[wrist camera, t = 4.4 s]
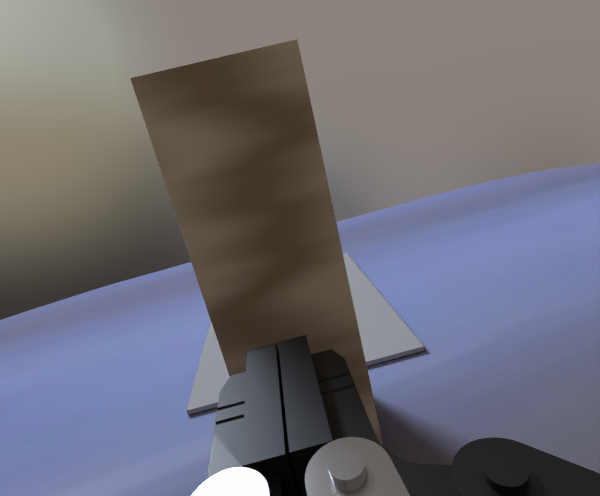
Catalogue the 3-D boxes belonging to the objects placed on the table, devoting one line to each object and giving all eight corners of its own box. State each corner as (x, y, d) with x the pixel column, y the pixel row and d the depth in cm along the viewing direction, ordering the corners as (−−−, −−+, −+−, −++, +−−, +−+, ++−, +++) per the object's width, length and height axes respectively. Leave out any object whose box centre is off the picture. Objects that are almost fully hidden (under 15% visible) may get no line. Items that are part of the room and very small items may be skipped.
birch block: (268, 494, 15) (130, 78, 11) (266, 411, 20) (169, 98, 16) (386, 461, 16) (297, 39, 11) (356, 387, 20) (285, 71, 16)
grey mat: (188, 414, 22) (186, 410, 21) (221, 287, 41) (220, 285, 41) (424, 350, 22) (423, 346, 22) (347, 255, 41) (346, 252, 41)
